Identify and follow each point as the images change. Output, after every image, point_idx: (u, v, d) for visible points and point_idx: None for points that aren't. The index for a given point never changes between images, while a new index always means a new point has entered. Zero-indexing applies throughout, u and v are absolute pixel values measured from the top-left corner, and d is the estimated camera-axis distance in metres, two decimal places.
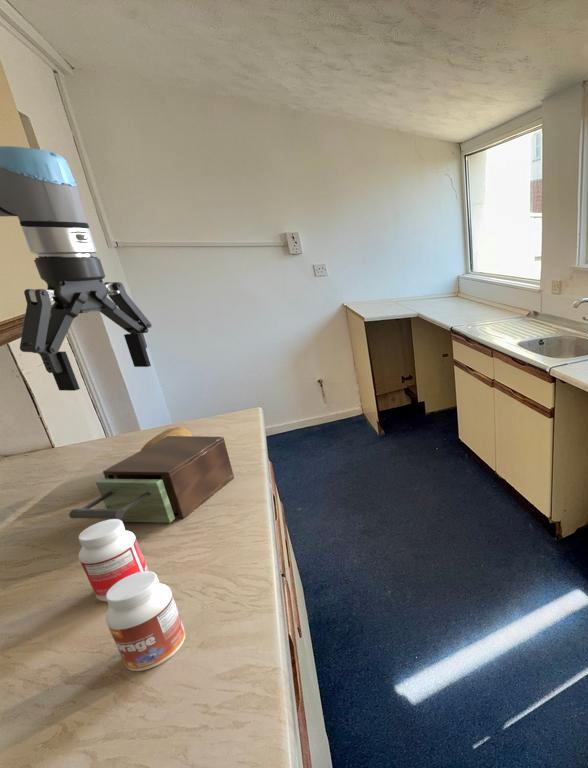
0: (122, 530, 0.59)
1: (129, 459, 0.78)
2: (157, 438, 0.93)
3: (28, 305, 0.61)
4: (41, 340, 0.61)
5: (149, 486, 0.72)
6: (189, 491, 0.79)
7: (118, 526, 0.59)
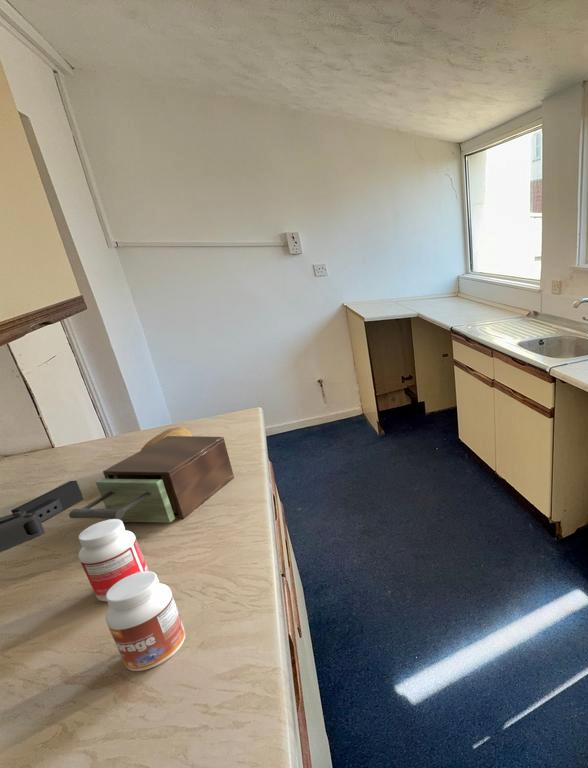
0: (122, 530, 0.59)
1: (129, 459, 0.78)
2: (157, 438, 0.93)
3: None
4: None
5: (149, 486, 0.72)
6: (189, 491, 0.79)
7: (118, 526, 0.59)
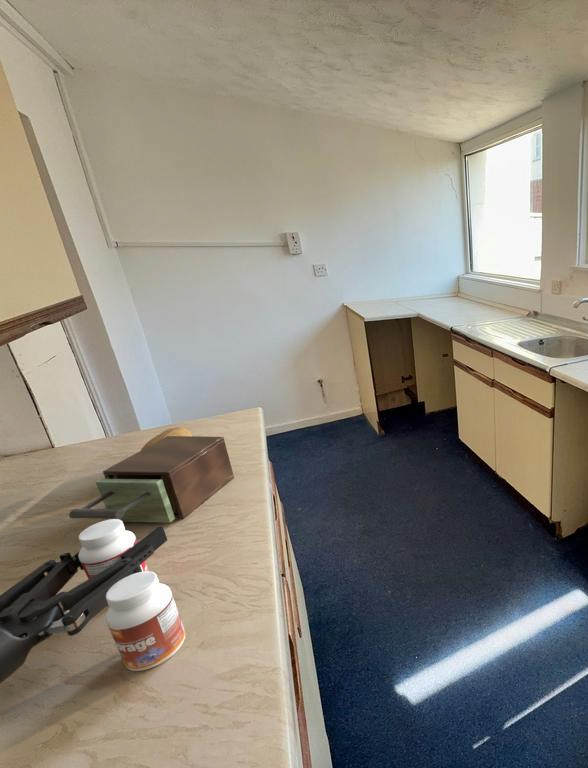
0: (122, 530, 0.59)
1: (129, 459, 0.78)
2: (157, 438, 0.93)
3: None
4: None
5: (149, 486, 0.72)
6: (189, 491, 0.79)
7: (118, 526, 0.59)
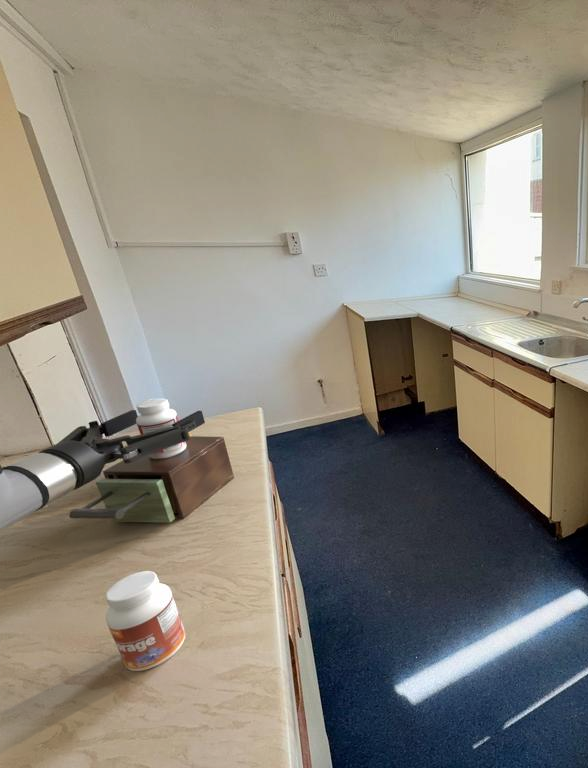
0: (168, 405, 0.78)
1: None
2: None
3: None
4: None
5: (149, 486, 0.72)
6: (189, 491, 0.79)
7: (165, 401, 0.78)
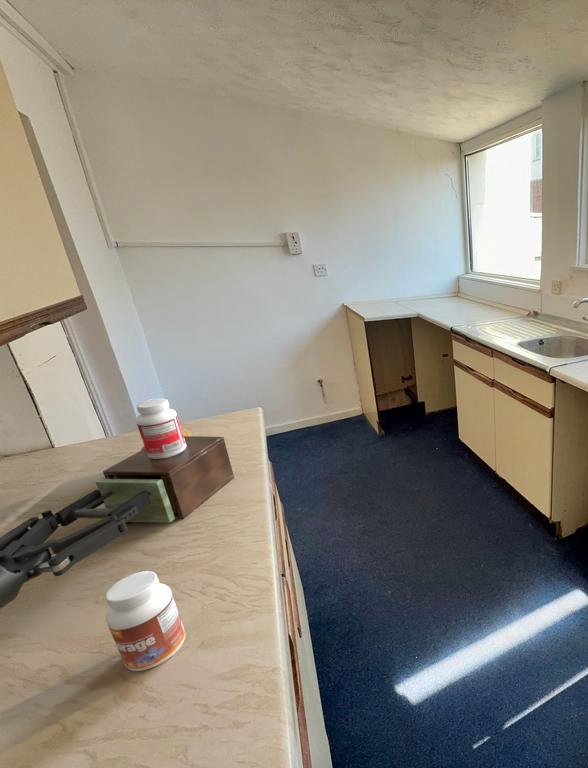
0: (168, 405, 0.78)
1: (129, 459, 0.78)
2: None
3: None
4: None
5: (149, 486, 0.72)
6: (189, 491, 0.79)
7: (165, 401, 0.78)
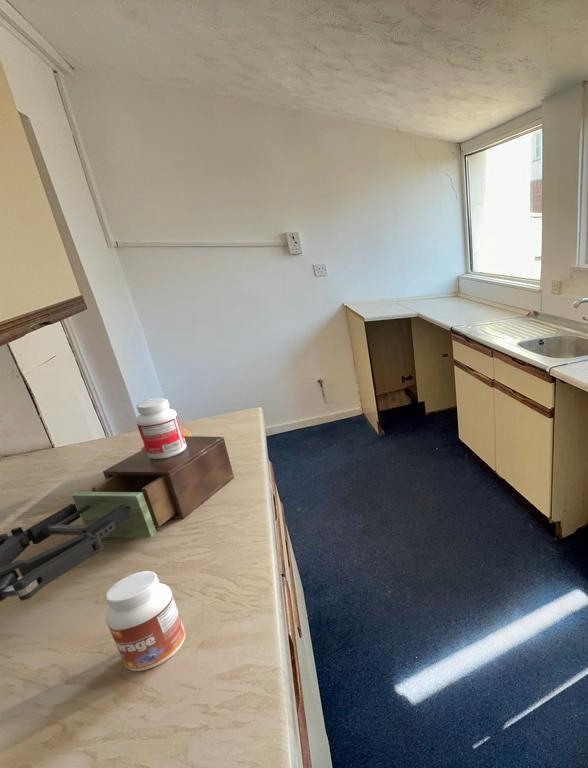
0: (168, 405, 0.78)
1: (129, 459, 0.78)
2: None
3: None
4: None
5: (128, 499, 0.69)
6: (189, 491, 0.79)
7: (165, 401, 0.78)
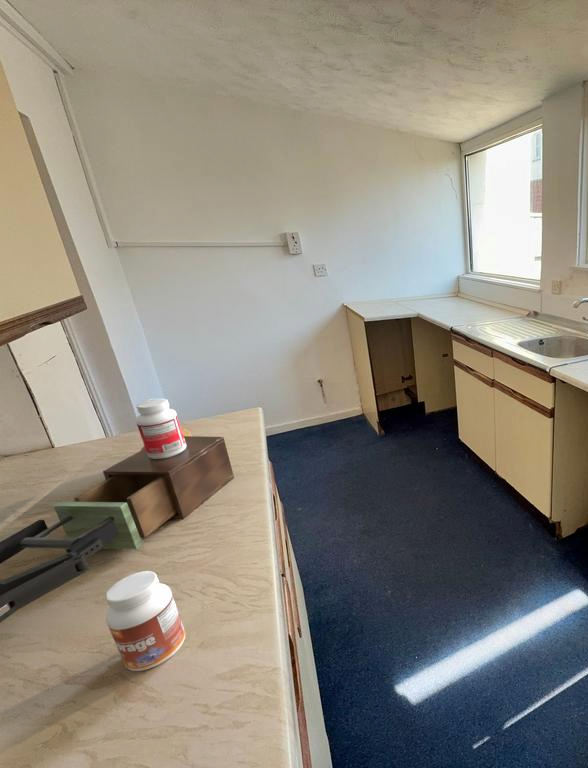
0: (168, 405, 0.78)
1: (129, 459, 0.78)
2: None
3: None
4: None
5: (112, 510, 0.66)
6: (189, 491, 0.79)
7: (165, 401, 0.78)
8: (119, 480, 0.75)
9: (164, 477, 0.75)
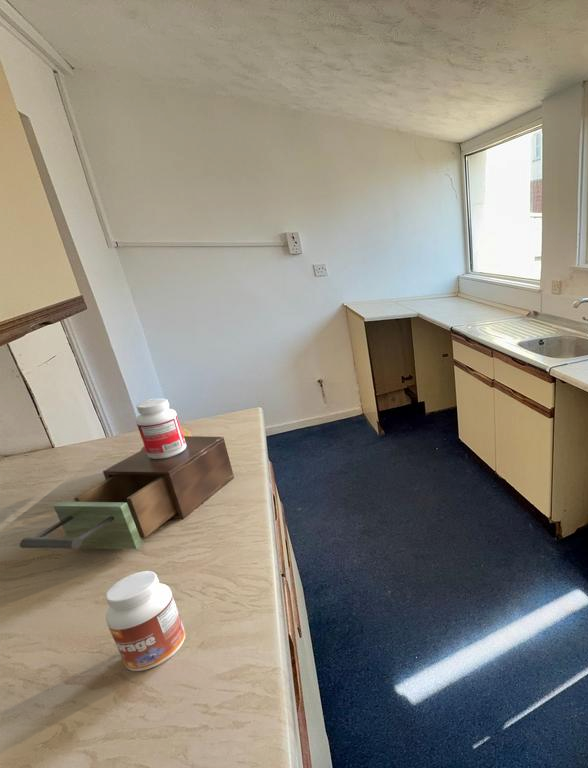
0: (168, 405, 0.78)
1: (129, 459, 0.78)
2: None
3: None
4: None
5: (112, 510, 0.66)
6: (189, 491, 0.79)
7: (165, 401, 0.78)
8: (119, 480, 0.75)
9: (164, 477, 0.75)
